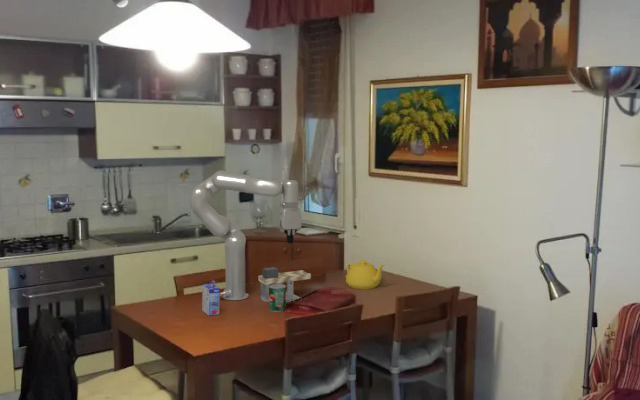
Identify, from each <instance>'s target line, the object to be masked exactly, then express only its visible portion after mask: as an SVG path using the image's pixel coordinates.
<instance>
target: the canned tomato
mask: <svg viewBox="0 0 640 400" xmlns="http://www.w3.org/2000/svg"><path fill="white" fill-rule="evenodd" d="M286 291H287V284H286V285H285V284H276V283H275V284H269V302H268V310H269V311H270V312H275V313H280V312H281V311H282V312H284V311H283V310H284V308H285V307H286V308H287V302H286ZM282 312H281V313H282Z"/></svg>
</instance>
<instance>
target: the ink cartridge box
mask: <svg viewBox="0 0 640 400" xmlns="http://www.w3.org/2000/svg"><path fill="white" fill-rule="evenodd" d="M215 284H216V281H215V280H214V279H212V280H211V282H210V283H209V284H208V283H207V284H206V283H205V284H202V292H201V293H202V299H201V302H202V303H201V306H202V307H201V311H202V312H203V313H205V314H206V315H207V316H208V317H211V316H219V315H220V312H221V311H220V309H221V308H220V307H221V306H220V305H221V304H220V303H221V302H220V300H221V299H220V298H221V296H220V292H221V288H220V287H219V286H217V285H215Z"/></svg>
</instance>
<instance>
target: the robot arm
mask: <svg viewBox="0 0 640 400" xmlns="http://www.w3.org/2000/svg"><path fill="white" fill-rule="evenodd" d="M222 190H225V191H226V190H227V191H235V192H240V193H246V194H253V195H258V196H264V197H265V196H266V197H274V198H275V197H277V196H280V195H282V202H281V203H280V204H279V206H280V207H281V209H280V214H279V225H278V226H279V232H281V233H283V234H285V236H286V243H287V244H291V245H292V244H294V236H295V235H296V232H299V231H301V228H302V215H301V209H300V208H299V182H298V181H297V180H296V179H295V180H294V179H286V180H282V179H274V178H273V179H271V180H270V179H263V178H257V177H254V176H251V175H248V174H246V173H245V174H244V173H243V174H242V173H236V172H230V171H226V170H222V169H221V170H217V171H216V172H214V173H213V175H211V176H209V177H208V178H207V179H205V180H204V181H202V182H201V183H200V184H199V183H198V184H197V185H196V186H195V187H194V188H193V189H192V190H191V193H190V195H189V200H188V201H189V207H190V209H191V212H192V213H193V214H194V215H195V217H196V218H197V219H198V220H199V221H200V222H201V223H202V225H204V227H206V229H207V230H209V232H211V234H212V235H214V236H215V237H218V238H221V239H222V240H223V242H224V257H225V258H224V259H225V260H224V261H225V263H224V264H225V266H224V267H225V268H224V269H225V274H224V275H225V288H224V289H223V291H222V292H221V291H220V297H222V299H223V300H225V301H226V300H227V301H242V300H246V299H248V298H249V293H246V241H247V238H246V235H245V234H244V233H243V232H242V230H241V229H240V228H239V227H238V226H237V225H235V223H234V222H233V221H232V220H231V219H230V218H229V217H227V216H225V215H220V214H219V213H218V212H217V211H216V209H214V207H212V206H211V205H210V204H209V202H208V200H209V199H210V198H212V197H213V196H215V195H216V194H218V193H219V192H220V191H222Z"/></svg>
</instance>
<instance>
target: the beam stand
mask: <svg viewBox="0 0 640 400" xmlns="http://www.w3.org/2000/svg"><path fill="white" fill-rule="evenodd" d="M283 283H284V282H283ZM283 283H275V284H283ZM269 285H270V284H267V285H266V284H264V283H262V282H260V300H261V301H263V302H265V303H269ZM283 285H284V284H283ZM299 298H301V297H300V296H298V295H296V294H294V281H293V280H287V282H286V303H292V302H291V301H293V302H295V301H294V300H296V299H299Z"/></svg>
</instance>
